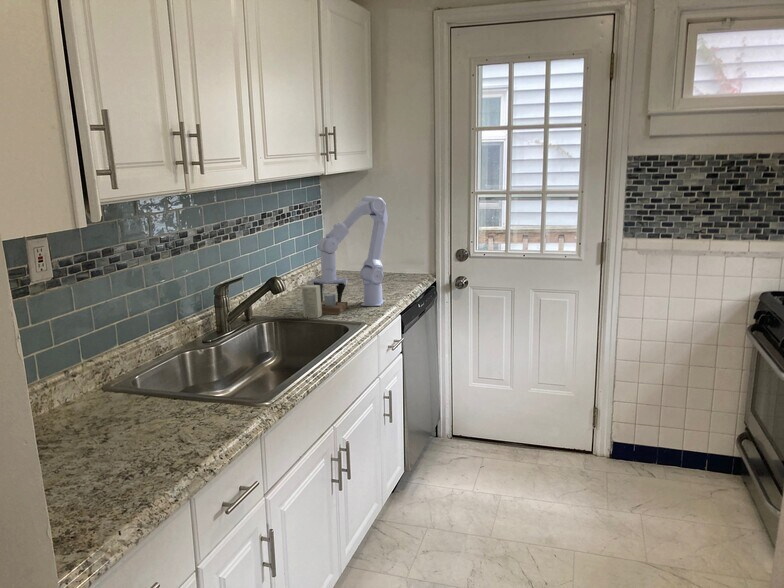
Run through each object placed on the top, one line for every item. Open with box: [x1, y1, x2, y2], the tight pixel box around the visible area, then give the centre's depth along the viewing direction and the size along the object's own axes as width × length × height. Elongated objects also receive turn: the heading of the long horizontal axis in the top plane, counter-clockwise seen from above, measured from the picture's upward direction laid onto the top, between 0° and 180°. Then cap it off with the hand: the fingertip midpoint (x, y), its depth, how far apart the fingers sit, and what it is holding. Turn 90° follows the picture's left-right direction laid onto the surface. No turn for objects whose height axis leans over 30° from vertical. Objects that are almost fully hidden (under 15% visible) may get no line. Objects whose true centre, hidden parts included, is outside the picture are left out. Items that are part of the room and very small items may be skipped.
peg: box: [323, 293, 337, 306], centre depth 256 cm, size 4×4×6 cm
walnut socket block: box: [321, 300, 349, 315], centre depth 257 cm, size 11×11×2 cm
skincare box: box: [300, 284, 323, 319], centre depth 247 cm, size 6×4×12 cm
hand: (330, 301), depth 256 cm, fingers open, 7 cm apart
